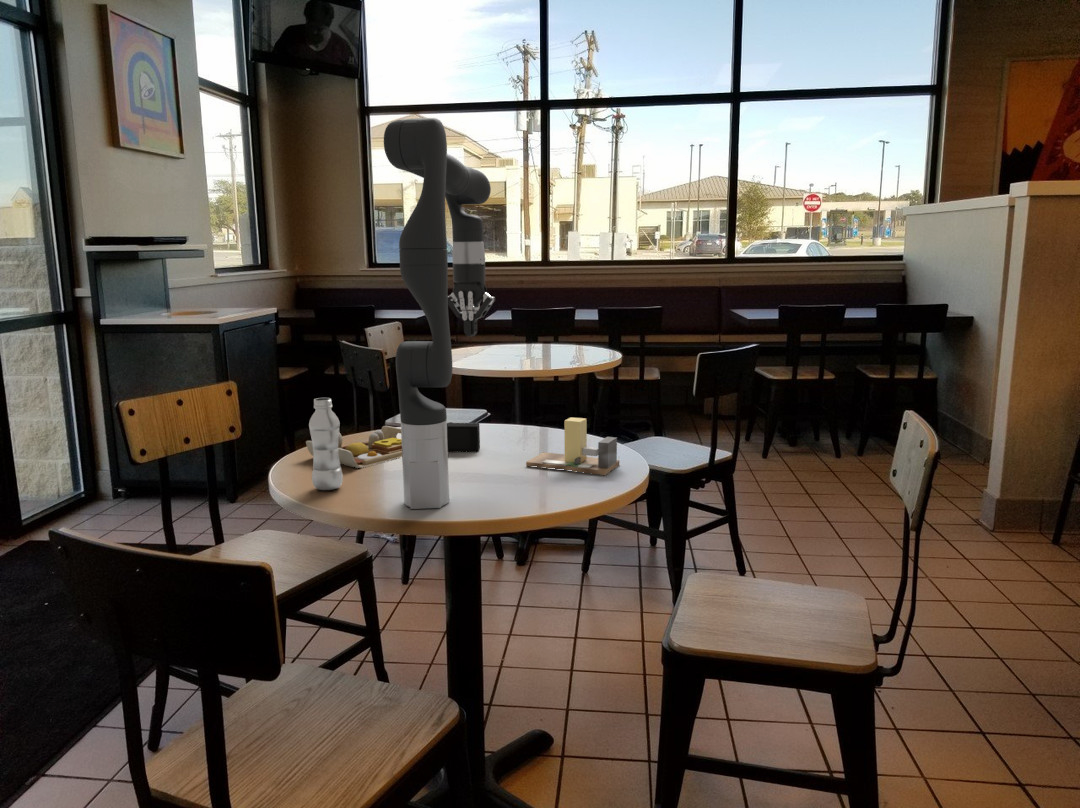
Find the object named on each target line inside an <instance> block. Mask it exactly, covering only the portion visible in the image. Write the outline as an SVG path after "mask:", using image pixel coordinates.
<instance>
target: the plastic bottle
mask: <svg viewBox="0 0 1080 808" xmlns="http://www.w3.org/2000/svg"><path fill="white" fill-rule="evenodd" d="M332 401H333V400H332V398H330V397H318V398H314V399H313V409H315V411H314V412H313V414H312V415H311V417H310V419H309V423H308V427H309V434H310V437H311V441H312V445H313V454H314V456H312V457H313V459H312V460H313V461H312V463H313V464H312V465H313V466H312V468H313V469H312V473H311V481H312V484H313V485H312V486H314V488H315V489H316V490H320V491H331V490H335V489H336V490H337V489H338V488H339V489H340V487H341V486H342V484H343V480H344V476H343V470H342V466H341V464H340V460H339V453H338V438H339V432H340V424H341V423H340V420H339V417H338V416H337V415H336V413H335V412H334V411H333V410H332V408H333V403H332Z"/></svg>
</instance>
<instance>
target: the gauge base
mask: <svg viewBox="0 0 1080 808" xmlns="http://www.w3.org/2000/svg"><path fill="white" fill-rule="evenodd" d="M597 443H598V444H597V448H598V456H597V457H595V456H587V459H586V460H585V461H583V462H582V463H578V464H575V462H565V453H553V452H542V453H540V454H538V455H536V456H534V457H532V458H530V459H528V460H527V461H526V462H525V467H526V466H537V467H546V468H555V469H564V470H572V471H577V472H584V473H583V474H585V473H592V474H591V475H594V474H601V475H600V476H603V475H605V476H607V475H608V474H609V473H611V472H612V471H614V470H615V469H617V467H619V466H620V459H618V458H617V457H618V455H617V454H618V452H617V451H618V450H617V448H618V447H617V446H618V437H613V436H606V437H603V439H601V440H599V441H598V442H597ZM614 468H615V469H614ZM611 470H612V471H611ZM610 471H611V472H610ZM607 473H608V474H607ZM606 474H607V475H606Z"/></svg>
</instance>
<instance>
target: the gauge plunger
mask: <svg viewBox="0 0 1080 808" xmlns="http://www.w3.org/2000/svg"><path fill="white" fill-rule="evenodd" d="M563 425H564V454H565V462H575V464H578V463H582V462H583V461H585V460H586V459H587V457H598V447H593V446H592V447H591V446H587V440H588V439H587V436H588V435H587V429H588V428H587V426H588V425H587V418H583V417H568V418H567V419H565V420H564V424H563Z"/></svg>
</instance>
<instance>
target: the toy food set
mask: <svg viewBox="0 0 1080 808" xmlns="http://www.w3.org/2000/svg"><path fill="white" fill-rule="evenodd" d="M398 434H401V427H396V426H395V427H394V426H389V425H383V426H382V427H381V430H380V429H377V430H375V431H373V432H372V433H370V435H369V436H368V440H367V441H366V440H365V441H362V442H353V443H350V444H348V445H344V446H342V445H343V441H344V440H343V436H342V434H341V433H340V431H339V438H338V453H339V460H340V465H343V464H344V465H343V466H347V467H350V468H354V467H355V469H358V468H361V469H363V468H362V467H365V468H367V467H366V466H369V467H371V466H370V465H373V464H376V465H378V464H377V463H380V464H382V463H381V462H384V463H386V462H385V461H387V462H390V461H389V460H391V461H394V460H393V459H395V460H397V459H396V458H398V459H401V458H400V457H402V440H401V438H398V437H397V435H398ZM305 444H306V448H307V452H309V454H310V455H312V457H314V454H313V445H312V440H306V441H305ZM373 466H374V465H373Z"/></svg>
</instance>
